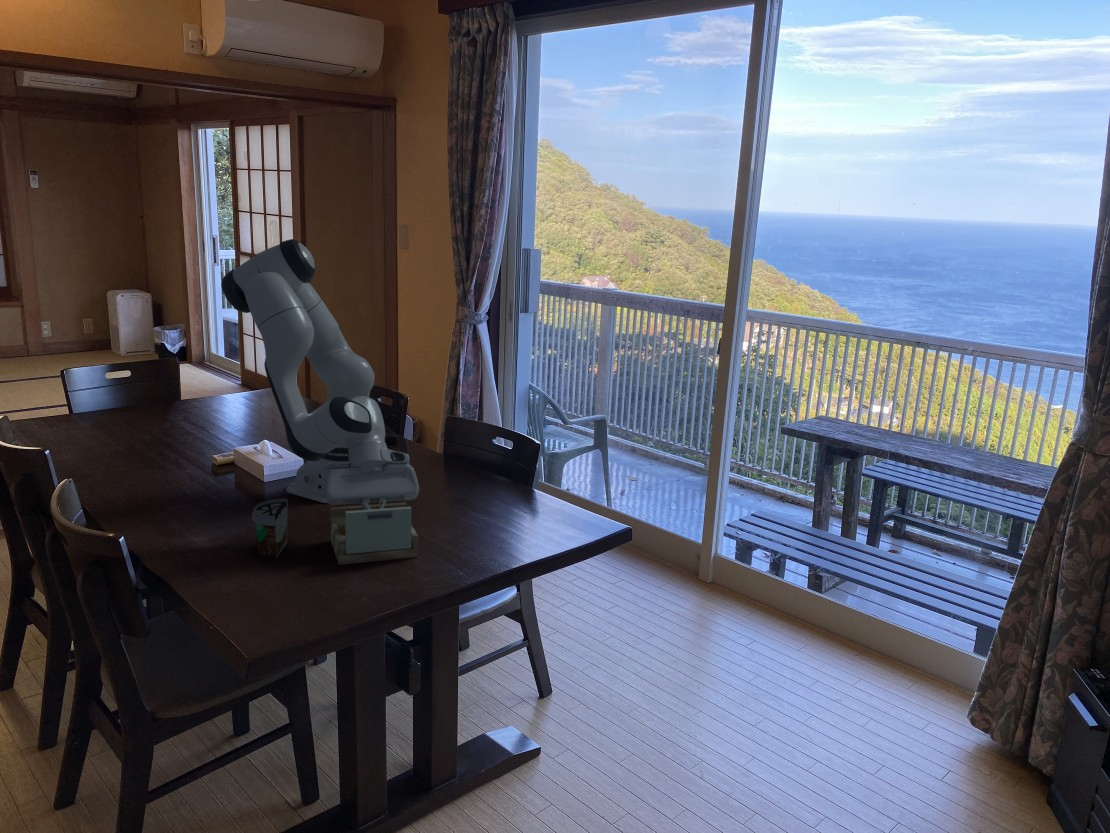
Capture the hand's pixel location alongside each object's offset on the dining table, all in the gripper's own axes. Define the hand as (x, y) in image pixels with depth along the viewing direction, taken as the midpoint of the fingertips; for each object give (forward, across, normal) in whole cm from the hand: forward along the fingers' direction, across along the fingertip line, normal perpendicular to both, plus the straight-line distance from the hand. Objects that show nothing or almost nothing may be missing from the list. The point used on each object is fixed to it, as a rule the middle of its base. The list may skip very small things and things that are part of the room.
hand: (376, 518), depth 174 cm
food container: (0, -22, +14) cm, 26 cm away
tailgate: (+6, 0, +4) cm, 7 cm away
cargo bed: (+3, 0, +10) cm, 10 cm away
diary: (-60, +8, +74) cm, 96 cm away
